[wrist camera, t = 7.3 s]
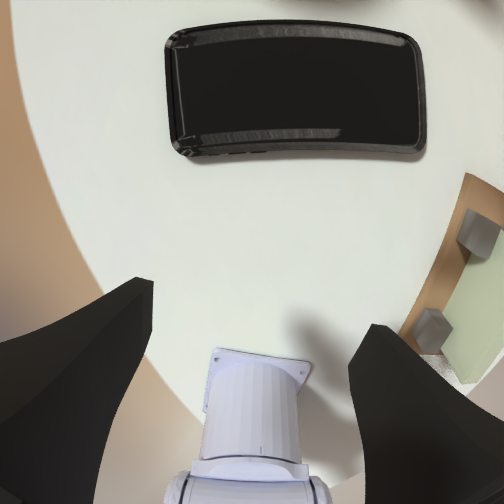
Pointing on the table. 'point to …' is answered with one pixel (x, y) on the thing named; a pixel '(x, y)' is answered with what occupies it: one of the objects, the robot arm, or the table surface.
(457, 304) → the door panel
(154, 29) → the table surface
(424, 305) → the rail
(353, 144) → the phone
